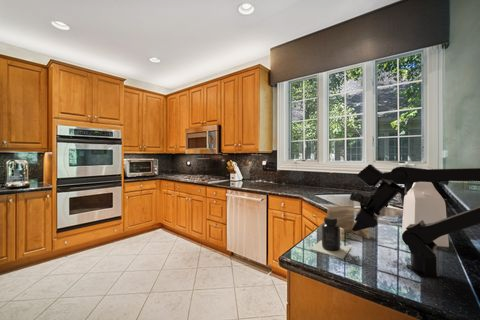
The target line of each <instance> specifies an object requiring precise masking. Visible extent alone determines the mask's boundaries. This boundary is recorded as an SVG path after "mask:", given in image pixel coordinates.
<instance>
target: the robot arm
mask: <svg viewBox="0 0 480 320" xmlns="http://www.w3.org/2000/svg"><path fill="white" fill-rule="evenodd" d="M356 178H357V179H359V180H360V181H361V182H362V183H364V184H365V185H366V186H368V187H369V188H372V187H374V188H375V190H374V191H371V192H369V193H368V192H366V191H362V190H359V189H355V188H353V189H352V190H351V192H350V196H349V200H350V201H352V202H357V203H359V206H360V209H359V210H358V211H357V213H356V217H354V221H355V222H356V223H355V225H354V226H353V228H352V230H353V231H354V232H355V231H358V230H362V229H366V228H369V229H370V228H372V229H374V228H376V227H377V225H379V218H378V216H380V215H381V212H382V211H383V210H384V209H385V208H388V207H389V204H390V203H391V201H392V200H394V199H395V198H396V196H398V194H400V195H401V196H403V197H404V196H405V195H407V192H408V190H407V187H406V186H401V185H405V184H413V183H415V182H480V167H475V168H474V167H470V168H469V167H467V168H465V167H464V168H461V167H460V168H422V167H412V166H396V167H394V168H392V170H391V171H385V172H382V171H381V170H379V169H377V168H376V167H375V166H374V165H373V164H368V165H367V166H365V167H364V168H363V169H362V170H360V172H359V173H358V174H357V176H356ZM390 181H391V182H390ZM477 225H480V205H478V206H476V207H474V208H471V209H468V210H465V211H462V212H459V213H457V214H455V215H454V214H453V215H451V216H449V217H447V218H445V219H443V220H440V221H437V222H434V223H429V224H425V223H424V221H423V220H421V221H420V222H418V223H416V224H410V225H409V226H408V227H407V228H406V229H407V230H405V231H404V232H403V234H402V233H401V239H402V241H403V243H404V244H405V245H406V246H407V247H408V249H409V252H410V264H406V265H405V266H406V267H407V268H408V269H409V270H410V271H412V272H413V273H414V274H416V275H417V276H419V277H425V278H438V279H439V278H440V279H441V278H442V279H443V276H444V275H442V274H440V273H439V272H437V271H438V267H437V265H438V262H437V261H438V260H437V259H438V258H437V256H436V255H437V254H436V253H435V251H436V250H437V248H438V246H437V244H435V243H434V242H433V241H434V240H436V239H437V238H439V237H441V236H443V235H446V234H448V235H449V234H453V233H455V232H459V231H461V230H464V229H468V228H470V227H474V226H477Z"/></svg>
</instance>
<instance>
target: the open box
mask: <svg viewBox="0 0 480 320" xmlns="http://www.w3.org/2000/svg"><path fill="white" fill-rule="evenodd" d="M326 208H327V209H326V210H327V211H326V212H327V216H326V217H335V218H337V225H338V226H339V227H340V241H345V233H354V234H356V235H358V236H360V237H362V238H364V239H370V228H366V229H362V230H358V231H355V232H354V231H353V230H352V228H353V226H354V225H355V223H356V221H355V205H351V204H349V205H338V206H337V205H333V206H328V205H327V207H326Z"/></svg>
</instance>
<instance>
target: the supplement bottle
mask: <svg viewBox="0 0 480 320" xmlns="http://www.w3.org/2000/svg"><path fill="white" fill-rule="evenodd" d="M323 222H324V223H323V224H322V225H321V241H322V247H323V248H324V249H326V250H329V251H338V250H340V245H341V240H340V227H339V226H338V225H337V218H335V217H327V216H325V217H324V218H323Z"/></svg>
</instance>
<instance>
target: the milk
mask: <svg viewBox="0 0 480 320" xmlns="http://www.w3.org/2000/svg"><path fill="white" fill-rule="evenodd" d="M432 182H433V181H422V182H415V183H412V186H411V188H410V189H409V190H407V195H405V196H403V208H402V222H401V223H402V224H401V225H402V226H401V235H402V234H403V232H404V231H405V230H407V229H406V228H407V227H408V226H409V225H410V224H416V223H418V222H420V221H421V220H423V221H424V223H425V224H429V223H434V222H437V221H440V220H443V219H445V218H448V217H447V207H446V206H447V205H446V201H445V199H444V197H442V195H441V194H440V193H439V191H438V190H437V189H436V187H435V186H434V184H433V183H432ZM433 242H434V243H435V244H437V247H442V248H443V247H444V248H449V247H450V245H449V234H446V235H443V236H441V237H439V238H437V239H436V240H434V241H433Z"/></svg>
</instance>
